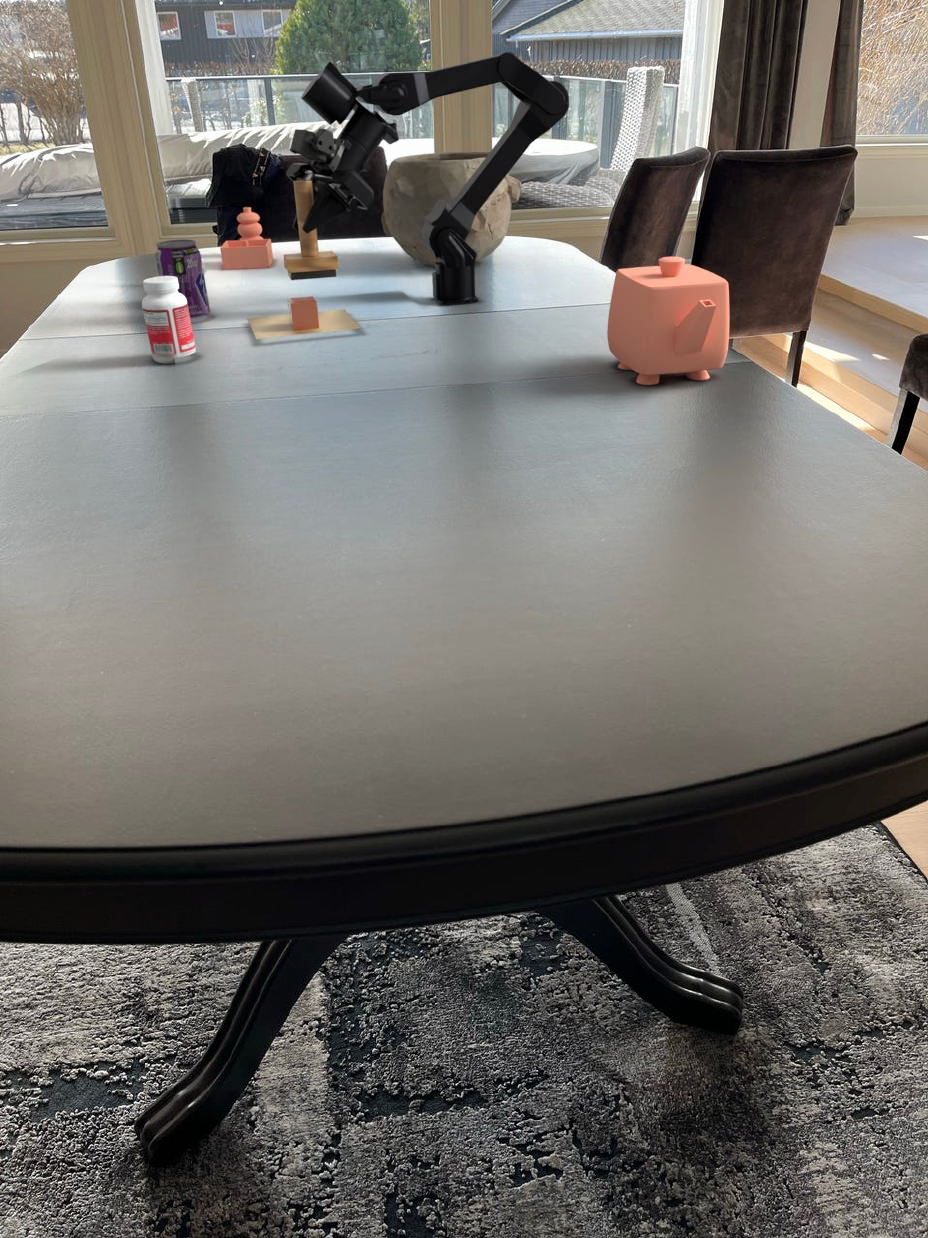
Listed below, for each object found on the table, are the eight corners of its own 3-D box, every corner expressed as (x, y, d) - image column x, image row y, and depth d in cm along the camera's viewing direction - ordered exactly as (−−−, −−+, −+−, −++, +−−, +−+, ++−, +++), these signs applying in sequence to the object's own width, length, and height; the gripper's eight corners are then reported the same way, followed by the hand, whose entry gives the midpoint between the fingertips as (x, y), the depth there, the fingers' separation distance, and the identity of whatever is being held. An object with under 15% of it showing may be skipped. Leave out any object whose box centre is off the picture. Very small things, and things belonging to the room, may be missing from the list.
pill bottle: (192, 350, 140) (178, 272, 134) (201, 360, 135) (187, 280, 129) (149, 356, 137) (133, 277, 132) (157, 367, 133) (141, 285, 127)
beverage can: (199, 324, 154) (186, 246, 148) (159, 323, 155) (145, 246, 149) (217, 313, 160) (205, 238, 154) (179, 313, 161) (165, 238, 155)
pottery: (269, 267, 195) (263, 216, 190) (223, 269, 194) (215, 218, 189) (276, 252, 210) (270, 204, 205) (233, 254, 210) (227, 206, 205)
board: (345, 314, 157) (344, 308, 156) (361, 334, 145) (361, 327, 145) (248, 324, 153) (247, 317, 153) (256, 345, 141) (255, 338, 141)
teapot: (747, 393, 115) (763, 271, 108) (649, 402, 113) (658, 279, 106) (677, 347, 134) (686, 240, 126) (591, 354, 132) (595, 247, 124)
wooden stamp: (334, 271, 155) (326, 177, 148) (339, 276, 151) (331, 180, 143) (285, 274, 153) (274, 180, 146) (289, 280, 149) (278, 183, 142)
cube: (315, 322, 149) (312, 296, 147) (319, 328, 145) (316, 301, 143) (290, 324, 148) (287, 298, 146) (293, 330, 144) (290, 303, 142)
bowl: (352, 270, 190) (343, 159, 180) (436, 247, 210) (432, 147, 199) (463, 282, 176) (460, 164, 166) (541, 257, 196) (543, 150, 186)
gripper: (290, 105, 148) (235, 188, 148) (350, 108, 135) (290, 199, 135) (338, 157, 156) (286, 236, 156) (399, 164, 143) (342, 250, 143)
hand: (299, 230), depth 148 cm, fingers closed on wooden stamp, 3 cm apart
